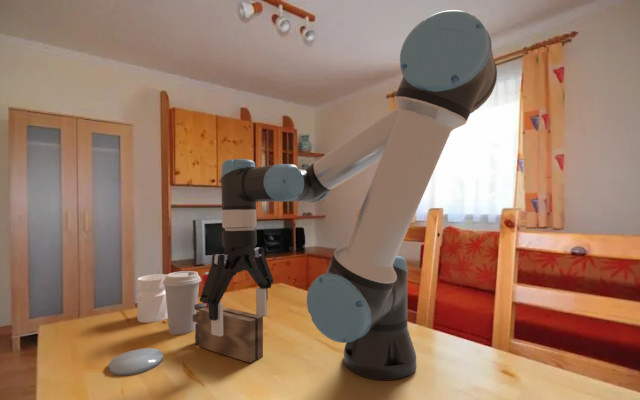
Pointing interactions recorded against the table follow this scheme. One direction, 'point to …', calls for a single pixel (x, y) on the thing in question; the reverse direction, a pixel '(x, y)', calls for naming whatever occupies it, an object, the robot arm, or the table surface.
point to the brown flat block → (257, 317)
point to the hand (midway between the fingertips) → (241, 324)
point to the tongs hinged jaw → (228, 335)
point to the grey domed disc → (135, 361)
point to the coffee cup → (181, 300)
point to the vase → (151, 298)
